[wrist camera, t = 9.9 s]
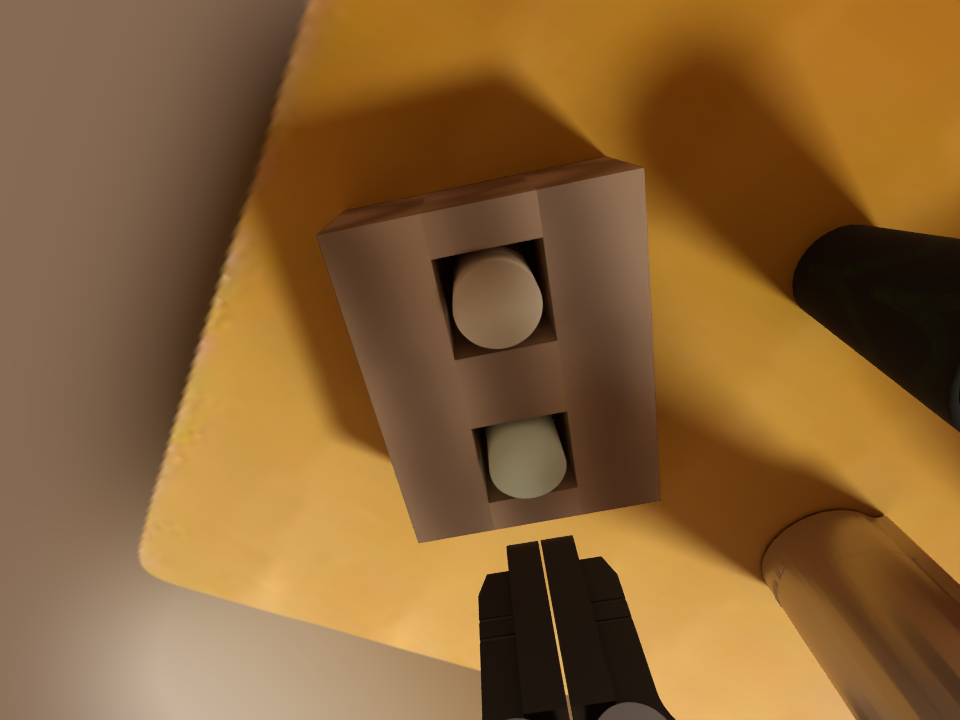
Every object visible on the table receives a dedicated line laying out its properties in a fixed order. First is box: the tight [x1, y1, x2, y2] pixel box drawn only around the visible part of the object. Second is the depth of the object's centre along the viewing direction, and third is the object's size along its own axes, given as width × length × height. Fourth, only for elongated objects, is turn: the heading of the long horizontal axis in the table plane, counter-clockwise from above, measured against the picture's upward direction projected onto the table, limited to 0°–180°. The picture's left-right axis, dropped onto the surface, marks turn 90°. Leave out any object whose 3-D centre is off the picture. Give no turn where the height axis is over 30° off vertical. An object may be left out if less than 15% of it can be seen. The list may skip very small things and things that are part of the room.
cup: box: [793, 225, 960, 432], centre depth 25 cm, size 8×8×12 cm
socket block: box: [316, 156, 661, 543], centre depth 28 cm, size 14×18×6 cm
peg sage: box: [486, 414, 566, 499], centre depth 30 cm, size 4×4×7 cm
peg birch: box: [453, 243, 543, 349], centre depth 26 cm, size 4×4×7 cm
